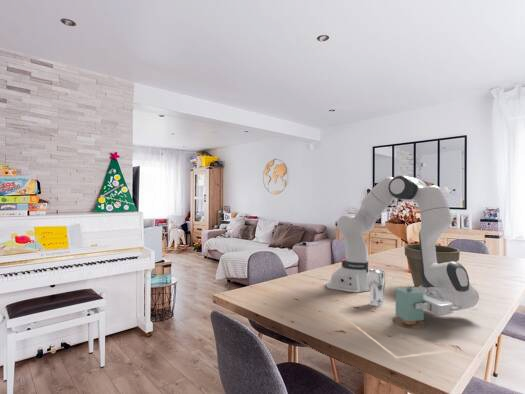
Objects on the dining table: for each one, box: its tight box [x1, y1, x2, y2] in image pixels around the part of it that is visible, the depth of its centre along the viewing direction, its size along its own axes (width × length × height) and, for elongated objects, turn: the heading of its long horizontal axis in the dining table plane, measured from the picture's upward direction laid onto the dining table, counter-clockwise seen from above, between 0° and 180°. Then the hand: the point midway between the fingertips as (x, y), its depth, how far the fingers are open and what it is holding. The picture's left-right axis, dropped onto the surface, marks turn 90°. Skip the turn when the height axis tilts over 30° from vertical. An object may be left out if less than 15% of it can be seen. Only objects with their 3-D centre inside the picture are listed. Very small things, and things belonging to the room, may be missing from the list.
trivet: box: [392, 316, 426, 330], centre depth 113 cm, size 11×11×1 cm
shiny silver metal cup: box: [368, 268, 386, 307], centre depth 134 cm, size 7×7×15 cm
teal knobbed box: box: [395, 286, 425, 322], centre depth 113 cm, size 7×7×11 cm
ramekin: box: [402, 319, 416, 325], centre depth 113 cm, size 3×3×2 cm
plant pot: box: [404, 243, 461, 287], centre depth 156 cm, size 25×25×22 cm
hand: (407, 302), depth 113 cm, fingers closed on teal knobbed box, 7 cm apart
